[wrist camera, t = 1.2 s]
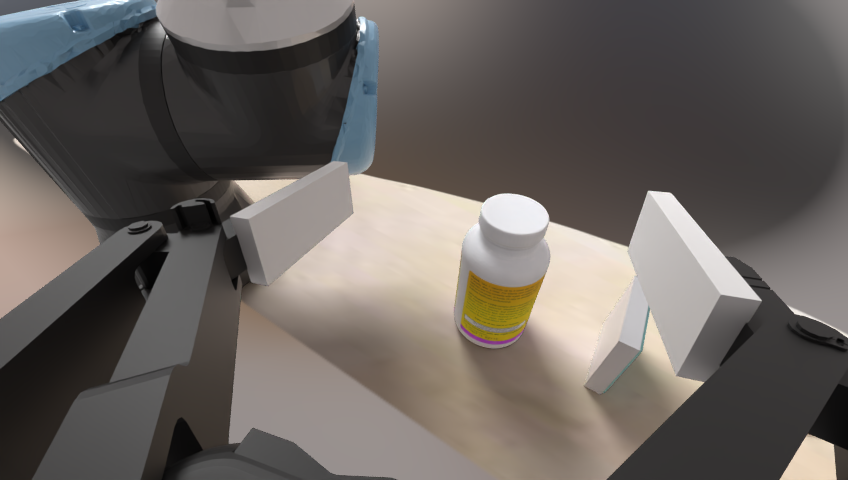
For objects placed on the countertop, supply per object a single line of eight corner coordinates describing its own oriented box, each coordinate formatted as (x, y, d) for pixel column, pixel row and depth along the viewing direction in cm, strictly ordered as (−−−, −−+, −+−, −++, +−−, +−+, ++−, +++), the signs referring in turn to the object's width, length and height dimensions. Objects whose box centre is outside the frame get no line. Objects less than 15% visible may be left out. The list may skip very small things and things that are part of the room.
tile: (583, 386, 27) (618, 340, 23) (602, 324, 32) (634, 275, 27) (602, 396, 27) (643, 352, 22) (619, 332, 31) (655, 283, 26)
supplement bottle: (535, 345, 30) (584, 240, 21) (464, 357, 29) (484, 252, 20) (508, 287, 35) (539, 182, 26) (446, 296, 34) (456, 189, 25)
